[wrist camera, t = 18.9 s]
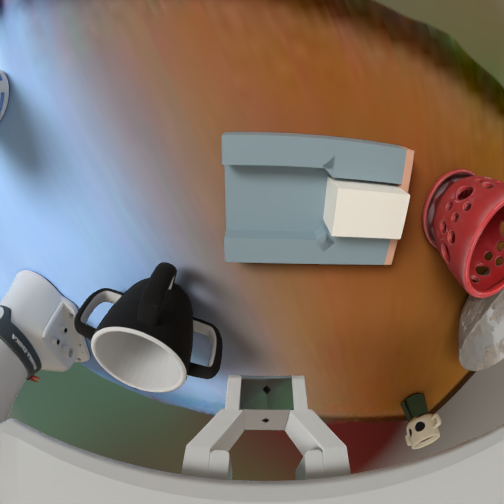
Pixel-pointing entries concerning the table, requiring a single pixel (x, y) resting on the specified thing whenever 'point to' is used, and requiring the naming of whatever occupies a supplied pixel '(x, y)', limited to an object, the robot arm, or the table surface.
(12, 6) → the table surface
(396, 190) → the cream block
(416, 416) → the character mug
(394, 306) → the table surface
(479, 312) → the ceramic bowl
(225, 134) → the channel dock
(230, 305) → the table surface
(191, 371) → the mug
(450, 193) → the plant pot
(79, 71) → the table surface
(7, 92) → the supplement tub
